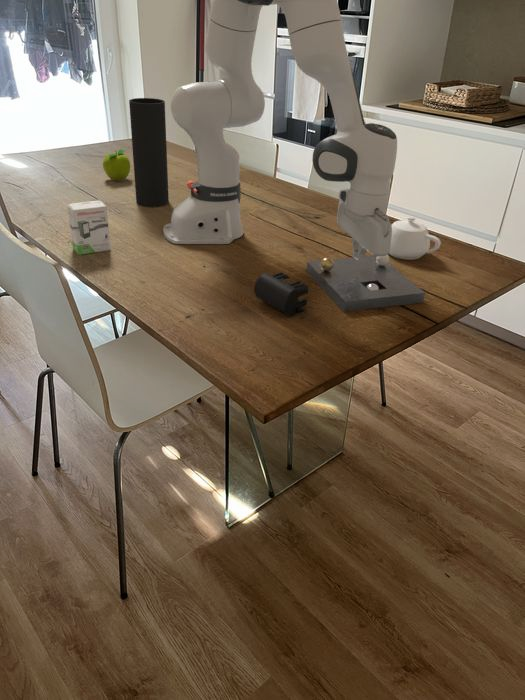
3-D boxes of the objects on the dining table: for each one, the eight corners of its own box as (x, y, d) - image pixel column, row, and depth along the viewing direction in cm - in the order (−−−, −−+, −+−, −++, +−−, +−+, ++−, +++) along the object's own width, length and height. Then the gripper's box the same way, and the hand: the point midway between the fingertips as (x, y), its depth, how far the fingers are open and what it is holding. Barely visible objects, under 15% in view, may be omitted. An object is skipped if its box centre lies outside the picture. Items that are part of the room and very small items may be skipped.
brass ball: (322, 273, 133) (324, 261, 131) (317, 268, 136) (318, 256, 134) (334, 272, 134) (336, 260, 132) (329, 267, 136) (331, 254, 135)
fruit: (137, 179, 200) (135, 150, 195) (118, 185, 193) (115, 155, 188) (118, 174, 204) (115, 146, 199) (99, 180, 197) (96, 150, 192)
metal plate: (343, 311, 123) (345, 301, 121) (306, 270, 140) (307, 261, 139) (423, 302, 128) (425, 292, 127) (377, 264, 146) (379, 255, 145)
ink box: (78, 255, 141) (72, 209, 135) (72, 248, 145) (66, 203, 138) (111, 250, 145) (107, 205, 139) (105, 243, 149) (100, 199, 142)
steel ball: (377, 296, 131) (374, 301, 128) (364, 291, 131) (361, 296, 129) (382, 284, 129) (379, 289, 126) (369, 279, 130) (366, 283, 127)
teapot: (360, 246, 156) (365, 211, 150) (385, 237, 163) (391, 202, 158) (422, 270, 144) (430, 232, 139) (447, 258, 152) (455, 222, 146)
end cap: (252, 303, 124) (254, 275, 120) (276, 295, 128) (278, 267, 124) (283, 321, 118) (286, 292, 114) (307, 312, 122) (310, 283, 118)
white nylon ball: (379, 268, 137) (381, 256, 136) (372, 263, 140) (374, 251, 138) (390, 267, 138) (392, 255, 136) (384, 262, 141) (386, 250, 139)
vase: (147, 209, 173) (140, 104, 158) (130, 200, 180) (122, 99, 164) (175, 203, 179) (171, 102, 163) (157, 195, 186) (152, 97, 170)
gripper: (403, 217, 119) (391, 276, 127) (359, 187, 135) (351, 241, 143) (377, 219, 118) (366, 278, 125) (336, 188, 133) (328, 243, 141)
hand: (358, 258), depth 134 cm, fingers closed
